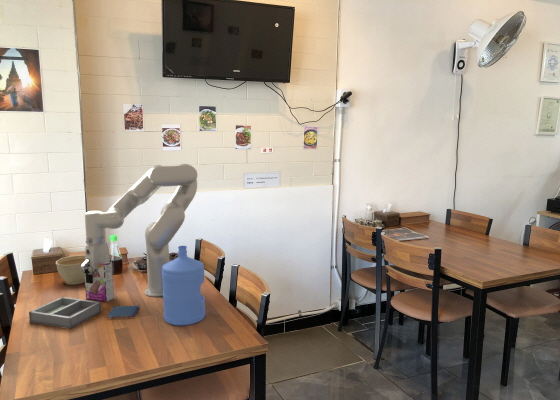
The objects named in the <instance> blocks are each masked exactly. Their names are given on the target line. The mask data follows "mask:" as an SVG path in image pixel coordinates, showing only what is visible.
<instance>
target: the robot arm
mask: <svg viewBox="0 0 560 400" xmlns="http://www.w3.org/2000/svg"><path fill="white" fill-rule="evenodd" d="M197 179H198V171H197V169H196V168H195V167H194V166H193V165H192V164H188V163H182V164H179V165H172V166H171V165H168V166H167V165H160V164H156V165H153V166H151V167H150V169H148V170H147V171H146V172H145V173H144V174H143V175H142V176H141V177H140V178H139V179H138V180H137V181H136V182H135V183H134V184H133V185H132V186H131V187H130V188H129V189H128V190H127V191H126V193H124V194H123V195H122V196H121V197H120V198H118V200H117V201H116V202H115V203H114V204H112V206H111V207H110V208H109V209H108V210H107V211H106V212H104V211H102V210H89V211H87V212H86V213H85V214H84V223H85V225H84V226H85V248H84V249H85V250H84V255H85V262H84V263H83V264H82V265H81V269H82V271H83V272H84V274H85V275H86V283H90V284H92V283H93V274H92V271H93V269H98V268H99V264H101V263H104V262H112V258H113V255H111V254H110V249H109V244H108V242H107V241H106V240H107V239H106V238H107V237H106V229H107V230H110V229H111V230H115V229H116V230H117V229H120V228H121V227H122V226H123V224H124V222H125V219H126V218H127V216H129V214H131V213H132V211H134V209H136V208H137V207H138V206H140V205H142V204H145V203H146V202H147V201H149V199H150V198H151V197H152V196H153V195H154V194H155V193H156V192H157V191H158V190H160V188H161V187H176V188H175V190H174V192H173V193H172V195H171V196H170V198H169V199H168V200H167V201H166V203H165V204H164V205H163V207H162V208H161V211H160V216H159V217H158V219H157V220H156V221H154V222H151V223H149V224H148V225H147V227H146V229H145V234H144V236H145V246H146V247H145V248H146V269H147V288H146V289H144V294H145V295H146V296H148V297H156V298H157V297H163V278H162V267H163V265H164V264H166V263H168V262H170V248H169V247H170V246H169V243H170V242H171V240H172V239H173V238H174V237H175V235H176V234H177V233H178V231H179V230H180V228H181V227H182V226H183V223H184V221H185V218H186V214H185V212H186V210H187V209H188V208H189V206H190V204H191V203H192V202H193V200H194V198H195V196H196V193H197V190H198V180H197ZM90 266H91V267H90ZM89 269H90V271H89Z"/></svg>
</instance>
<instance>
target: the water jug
mask: <svg viewBox="0 0 560 400" xmlns="http://www.w3.org/2000/svg"><path fill="white" fill-rule="evenodd" d="M187 247H188V246H187V245H179V246H178V247H177V249H178V251H177V252H178V253H177V254H178V256H177V257H176V258H174V259H172V260H169V262H168V263H166V264H164V265H163V267H162V278H163V296H162V299H163V301H162V302H163V320H164V321H165V322H166V323H167V324H170V325H173V326H179V327H180V326H190V325H193V324H196V323H199V322H201V321H202V320H204V319H205V316H206V301H205V300H206V299H205V296H204V295H202V293H201V286H202V284H204V283H205V265H204V263H203V262H202V261H200V260H197V259H194V258H191V257H189V256H188V250H187Z"/></svg>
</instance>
